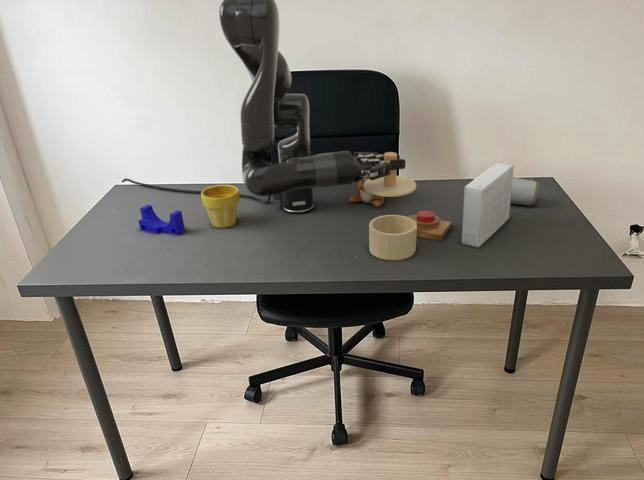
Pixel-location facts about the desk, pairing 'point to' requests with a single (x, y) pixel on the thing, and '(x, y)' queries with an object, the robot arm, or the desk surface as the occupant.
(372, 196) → the stuffed squirrel
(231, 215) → the flower pot
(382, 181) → the lid
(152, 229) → the blue cradle stand
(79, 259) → the desk surface
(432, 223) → the button block
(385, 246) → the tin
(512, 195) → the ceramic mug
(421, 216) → the button
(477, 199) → the skincare box
